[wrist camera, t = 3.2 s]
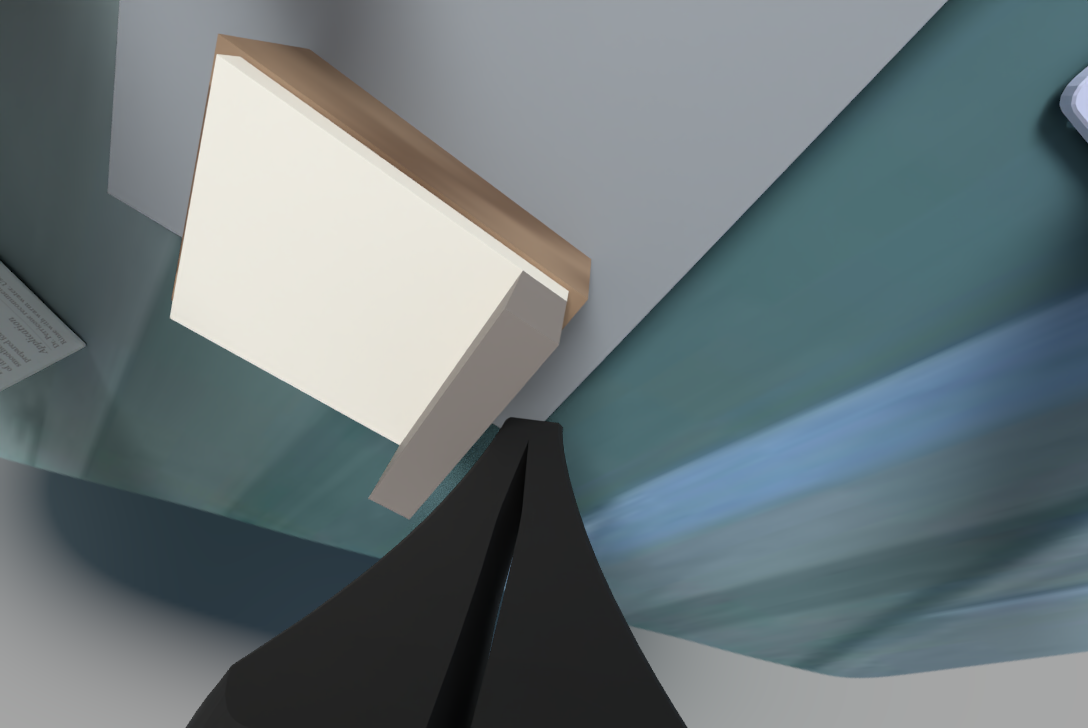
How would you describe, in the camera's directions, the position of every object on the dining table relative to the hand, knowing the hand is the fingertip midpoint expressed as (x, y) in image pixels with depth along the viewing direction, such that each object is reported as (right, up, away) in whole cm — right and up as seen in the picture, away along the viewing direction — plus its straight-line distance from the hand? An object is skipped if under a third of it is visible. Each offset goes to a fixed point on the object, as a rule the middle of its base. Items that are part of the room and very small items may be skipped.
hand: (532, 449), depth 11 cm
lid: (-4, +4, 0) cm, 6 cm away
